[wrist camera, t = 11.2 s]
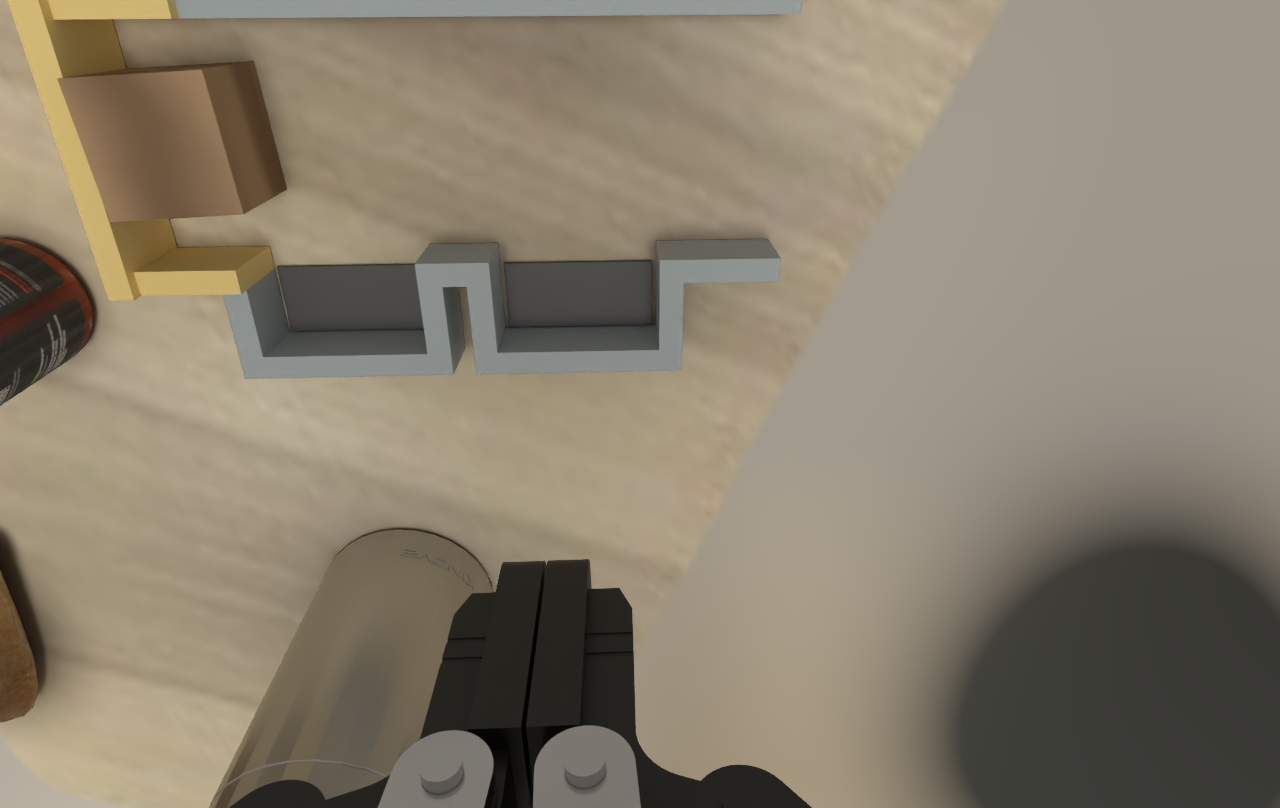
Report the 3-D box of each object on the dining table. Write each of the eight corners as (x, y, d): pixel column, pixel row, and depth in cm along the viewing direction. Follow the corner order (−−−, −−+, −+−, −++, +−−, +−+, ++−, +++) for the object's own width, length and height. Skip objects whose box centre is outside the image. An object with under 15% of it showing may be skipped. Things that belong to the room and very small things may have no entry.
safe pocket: (210, -13, 29) (155, -15, 26) (274, 268, 35) (236, 298, 31) (76, -12, 29) (2, -14, 26) (160, 270, 34) (108, 300, 31)
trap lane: (786, -16, 30) (802, -18, 27) (760, 342, 37) (772, 368, 34) (183, -12, 29) (141, -14, 27) (272, 351, 36) (245, 378, 34)
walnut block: (254, 61, 31) (201, 69, 27) (287, 188, 33) (243, 213, 29) (129, 68, 31) (57, 78, 27) (170, 195, 33) (110, 222, 29)
